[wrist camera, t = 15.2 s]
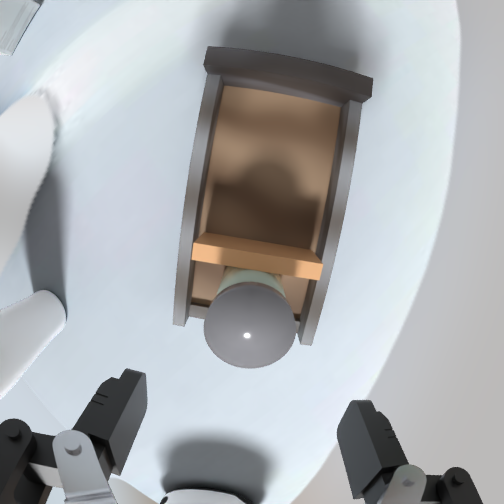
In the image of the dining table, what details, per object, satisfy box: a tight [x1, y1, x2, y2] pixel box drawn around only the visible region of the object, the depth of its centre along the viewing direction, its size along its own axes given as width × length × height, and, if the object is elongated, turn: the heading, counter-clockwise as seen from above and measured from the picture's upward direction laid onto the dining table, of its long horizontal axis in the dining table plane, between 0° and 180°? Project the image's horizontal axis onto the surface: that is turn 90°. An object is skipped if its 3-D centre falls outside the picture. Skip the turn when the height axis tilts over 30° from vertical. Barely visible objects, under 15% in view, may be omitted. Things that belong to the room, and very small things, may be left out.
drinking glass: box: [0, 290, 66, 400], centre depth 20 cm, size 7×7×15 cm
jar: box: [204, 266, 296, 368], centre depth 21 cm, size 5×5×9 cm
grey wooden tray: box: [173, 46, 373, 346], centre depth 22 cm, size 22×12×5 cm, turn 171°
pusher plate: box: [191, 232, 323, 280], centre depth 22 cm, size 1×9×4 cm, turn 81°
